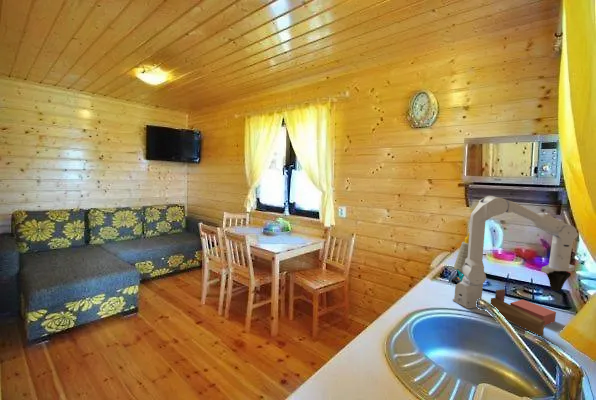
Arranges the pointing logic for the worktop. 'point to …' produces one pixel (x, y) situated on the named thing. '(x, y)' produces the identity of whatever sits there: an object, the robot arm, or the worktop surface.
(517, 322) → the shelf wall
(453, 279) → the stick construction toy
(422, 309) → the worktop surface
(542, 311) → the reddish rectangular block
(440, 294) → the worktop surface
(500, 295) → the bookend
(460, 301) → the robot arm
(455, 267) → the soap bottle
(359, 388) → the worktop surface
